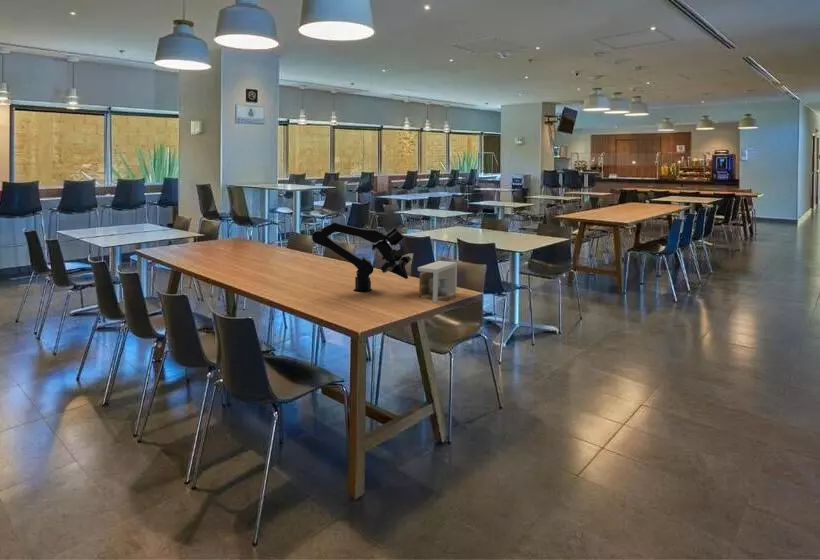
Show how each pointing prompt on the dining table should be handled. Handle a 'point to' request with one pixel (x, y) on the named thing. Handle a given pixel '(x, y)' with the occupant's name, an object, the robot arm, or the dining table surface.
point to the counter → (442, 276)
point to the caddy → (427, 287)
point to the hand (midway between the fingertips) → (407, 278)
